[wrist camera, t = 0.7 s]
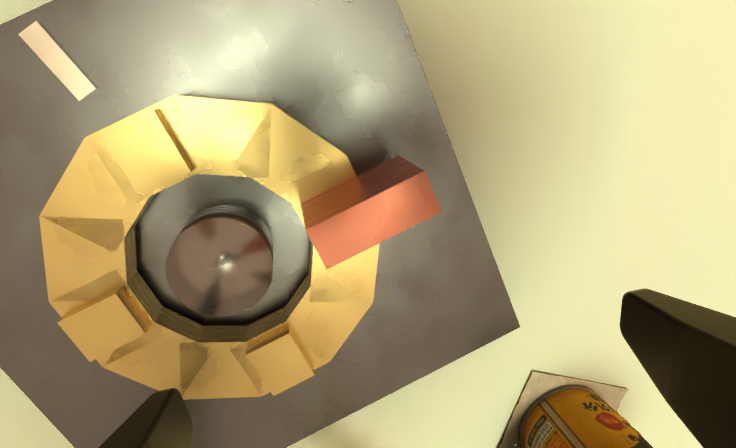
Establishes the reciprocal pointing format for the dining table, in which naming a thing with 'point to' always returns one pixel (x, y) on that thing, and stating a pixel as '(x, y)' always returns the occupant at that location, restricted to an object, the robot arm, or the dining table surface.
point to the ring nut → (229, 158)
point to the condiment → (570, 416)
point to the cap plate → (235, 202)
